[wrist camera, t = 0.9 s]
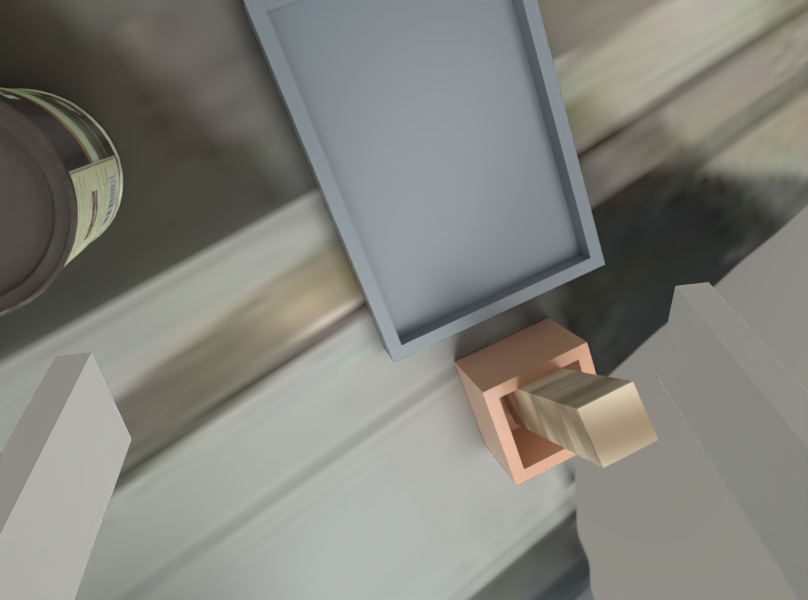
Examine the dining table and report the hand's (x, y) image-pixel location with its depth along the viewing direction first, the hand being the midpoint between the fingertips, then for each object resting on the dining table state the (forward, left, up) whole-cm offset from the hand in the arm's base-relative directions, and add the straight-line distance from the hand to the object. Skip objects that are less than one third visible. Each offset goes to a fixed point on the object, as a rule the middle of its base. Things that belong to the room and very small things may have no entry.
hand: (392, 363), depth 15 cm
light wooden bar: (-19, -12, -30) cm, 37 cm away
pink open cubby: (-21, -12, -31) cm, 39 cm away
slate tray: (-1, -12, -31) cm, 33 cm away
